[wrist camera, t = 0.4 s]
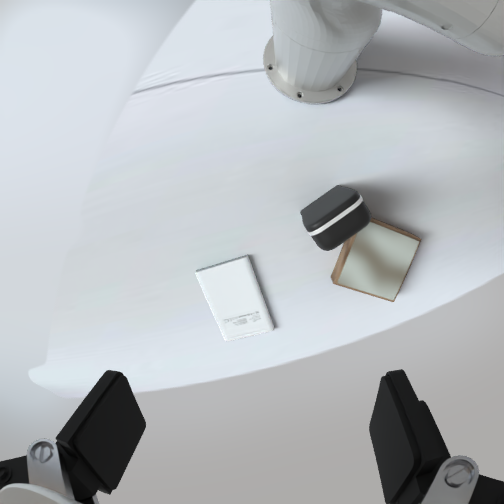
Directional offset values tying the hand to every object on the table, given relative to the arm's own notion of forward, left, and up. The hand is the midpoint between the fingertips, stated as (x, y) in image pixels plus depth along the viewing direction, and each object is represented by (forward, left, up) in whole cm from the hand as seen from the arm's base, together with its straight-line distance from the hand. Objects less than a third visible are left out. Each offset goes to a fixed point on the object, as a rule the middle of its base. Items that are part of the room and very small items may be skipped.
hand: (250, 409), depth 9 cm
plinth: (0, +15, -32) cm, 36 cm away
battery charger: (-4, +6, -33) cm, 33 cm away
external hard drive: (+13, -2, -33) cm, 36 cm away
